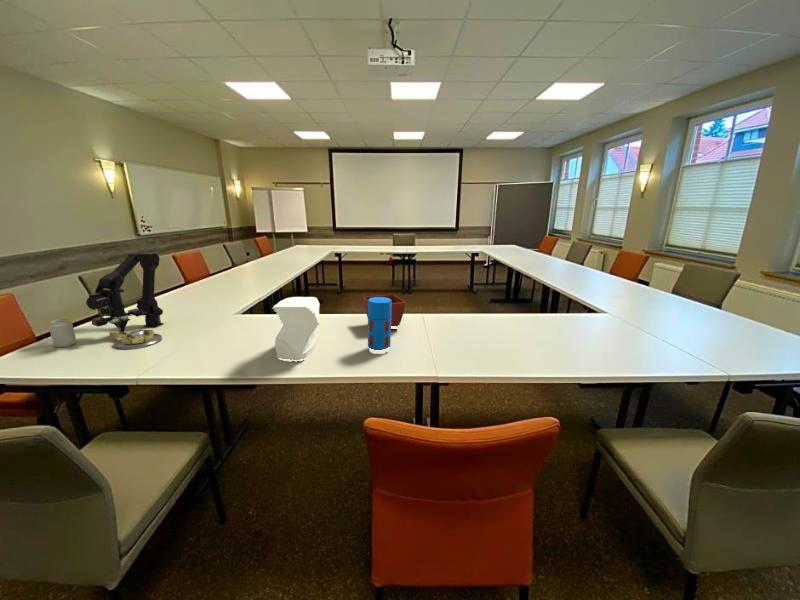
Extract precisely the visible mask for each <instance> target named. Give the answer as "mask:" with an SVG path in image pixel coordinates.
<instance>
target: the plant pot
mask: <svg viewBox="0 0 800 600" xmlns="http://www.w3.org/2000/svg"><path fill="white" fill-rule="evenodd" d="M373 297H385V298H389V299H391V303H392V306H391V326H398V325H399V326H400V324H401V322H402V319H403V315H404V312H405V307H406V301H405V300H403V299H401V298H400V297H398V296H397V295H395V294H381V295H380V294H379V295H367V296H363V297H362V298H363V305H364V310H365V313H366V317H367V319H368V300H369V299H370V298H373Z"/></svg>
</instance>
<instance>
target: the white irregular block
mask: <svg viewBox="0 0 800 600" xmlns="http://www.w3.org/2000/svg"><path fill="white" fill-rule="evenodd" d="M320 306H321V305H320V302H319V300H318V298H317V297H315V296H291V297H287V298H284V299H282V300H280V301H278V302H277V303H276V304H275V305H273V307H271V309H272V310H273V311H274V312H276V315H278V318H279V320H280V323H281V324H282V327H281V328H280V330H279V331H278V333H277V334H276V337H275V340H274V343H275V344H274V346H275V347H274V348H275V351H276V357H278V358H282V359H290V360H292V359H293V360H300V359H304V358H306V357H307V356H308V355H310V354H311V353H312V354H313V352H312V350H313V348H314V349H315V346H316V342H317V341H316V340H317V339H316V329H317V328H318V326H320ZM313 351H314V350H313Z"/></svg>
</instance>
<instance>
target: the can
mask: <svg viewBox="0 0 800 600" xmlns="http://www.w3.org/2000/svg"><path fill="white" fill-rule="evenodd" d="M49 323H50V324H49V325H48V328H49V332H50V333H49V334H50V336H51V339H52V341H51V342H52V344H53V346H54V347H56V348H67V347H70V346H73V345H75V344H76V342H77V337H76V333H75V329H74V326H73V322H72V321H71V320H70V319H69V318H58V319H54V320H51V321H50V322H49Z"/></svg>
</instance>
